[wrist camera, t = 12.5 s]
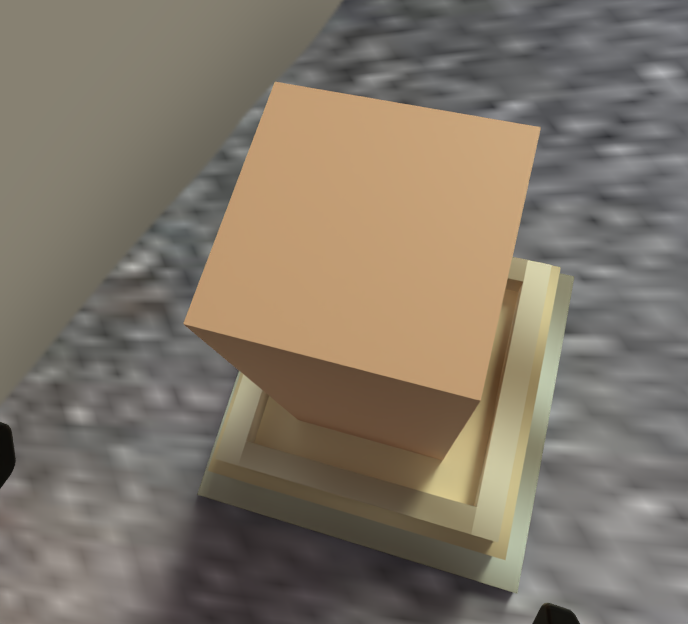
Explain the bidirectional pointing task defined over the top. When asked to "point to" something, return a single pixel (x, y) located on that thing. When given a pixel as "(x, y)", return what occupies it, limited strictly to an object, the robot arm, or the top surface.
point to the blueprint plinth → (414, 456)
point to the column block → (367, 262)
